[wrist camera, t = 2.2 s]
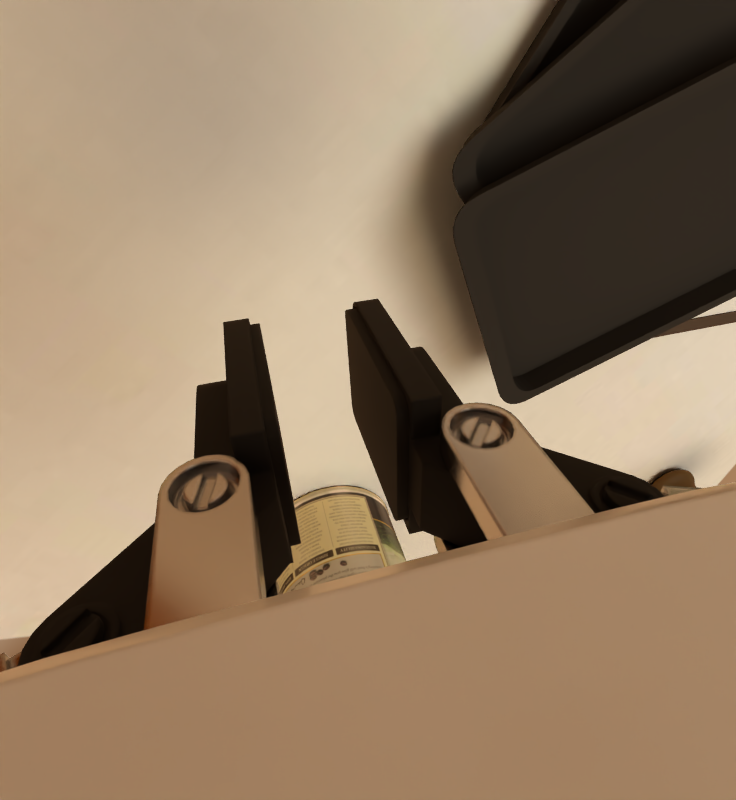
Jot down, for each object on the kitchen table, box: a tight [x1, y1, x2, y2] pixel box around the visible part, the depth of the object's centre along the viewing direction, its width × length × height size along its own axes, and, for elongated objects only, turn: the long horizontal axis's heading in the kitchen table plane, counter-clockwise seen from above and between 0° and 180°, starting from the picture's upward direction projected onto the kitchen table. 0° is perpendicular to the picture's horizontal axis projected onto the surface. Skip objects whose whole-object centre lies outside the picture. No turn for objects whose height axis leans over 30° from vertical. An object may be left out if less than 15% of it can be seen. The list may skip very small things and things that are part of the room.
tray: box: [452, 0, 736, 404], centre depth 26 cm, size 30×23×5 cm
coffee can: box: [277, 486, 406, 594], centre depth 36 cm, size 10×10×14 cm
